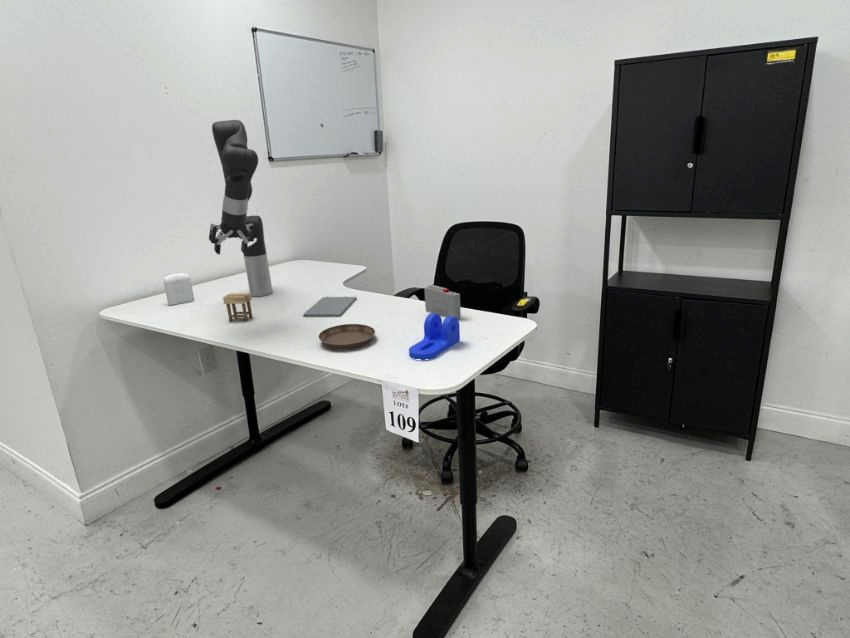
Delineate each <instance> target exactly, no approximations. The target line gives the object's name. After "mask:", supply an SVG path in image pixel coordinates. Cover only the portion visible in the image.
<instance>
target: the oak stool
mask: <svg viewBox="0 0 850 638" xmlns="http://www.w3.org/2000/svg"><path fill="white" fill-rule="evenodd" d="M222 300H223V304H225V305H226V310H227V311H226V312H227V316H228V321H229V323H232V322H234V320H233V318H234V319H238V318H243V320H244V323H246V322H249V318H251V319H253V312H252V306H251V300H252V296H251V293H250V292H243V293H242V292H235V293H233V292H231V293H229V294H227V295H225V296H223V297H222ZM236 304H237V305H239V304H241V307H242V311H237V307H236ZM246 306H247V307H246ZM231 307H232V310H231ZM232 313H233V314H232Z"/></svg>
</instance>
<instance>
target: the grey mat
mask: <svg viewBox="0 0 850 638" xmlns="http://www.w3.org/2000/svg"><path fill="white" fill-rule="evenodd" d="M356 300H357V296H323V297H321V298H320V299H319V300H318V301H316V302H315V303H314V304H313V305H312V306H311V307H310V308H309V309H308V310H306V311H305V312H304V313H303V314H302V317H303V318H341V317H340V316H342V315H343V314H345V312H346V311H347V310H348V309H349V308H350V307H351V306H352V305H353V304H354V303H355V301H356ZM353 302H354V303H353ZM352 303H353V304H352ZM351 304H352V305H351ZM350 305H351V306H350ZM349 306H350V307H349ZM348 307H349V308H348ZM333 316H335V317H333ZM338 316H339V317H338Z"/></svg>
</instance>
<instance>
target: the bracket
mask: <svg viewBox="0 0 850 638" xmlns="http://www.w3.org/2000/svg"><path fill="white" fill-rule="evenodd" d="M460 331H461V330H460V319H458V318H456V317H452V316H447V317H446V318H445V317H444V319H443V320H442V316H440V315H438V314H433V313H428V314H427V316H426V317H425V319H424V322H423V332H424V333H423V334H424V336H423V339H422V340H420V341H418V342H417V343H415V344H413V345H412V346H410V347H409V348H408V356H410V357H411V358H414V359H421V360H425V359H431V358H434V357H435V358H436V356H437V355H439V354H440V353H442V352H443V351H445V350H446V351H448V350H449V349H451V348H452V347H454V346H455V345H457V344H458V343H460V342H461V334H460ZM459 341H460V342H459ZM456 343H457V344H456ZM454 344H455V345H454ZM453 345H454V346H453ZM451 346H452V347H451ZM450 347H451V348H450ZM448 348H449V349H448ZM447 349H448V350H447ZM446 351H445V352H446ZM443 353H444V352H443ZM443 353H442V354H443ZM440 355H441V354H440ZM440 355H439V356H440ZM410 357H409V358H410ZM437 357H438V356H437ZM411 358H410V359H411ZM435 358H434V359H435ZM414 359H413V360H414ZM431 360H432V359H431ZM425 361H426V360H425Z"/></svg>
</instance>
